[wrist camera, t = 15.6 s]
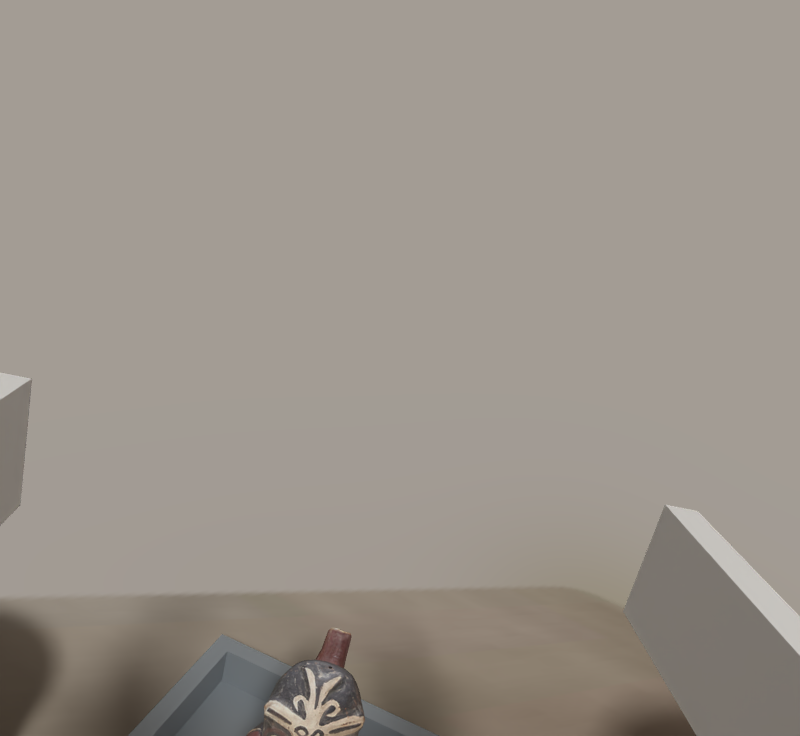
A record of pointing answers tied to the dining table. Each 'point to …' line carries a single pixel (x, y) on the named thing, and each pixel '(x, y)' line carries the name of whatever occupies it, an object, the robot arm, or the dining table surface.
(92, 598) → the dining table surface
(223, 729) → the tray
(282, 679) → the figurine
